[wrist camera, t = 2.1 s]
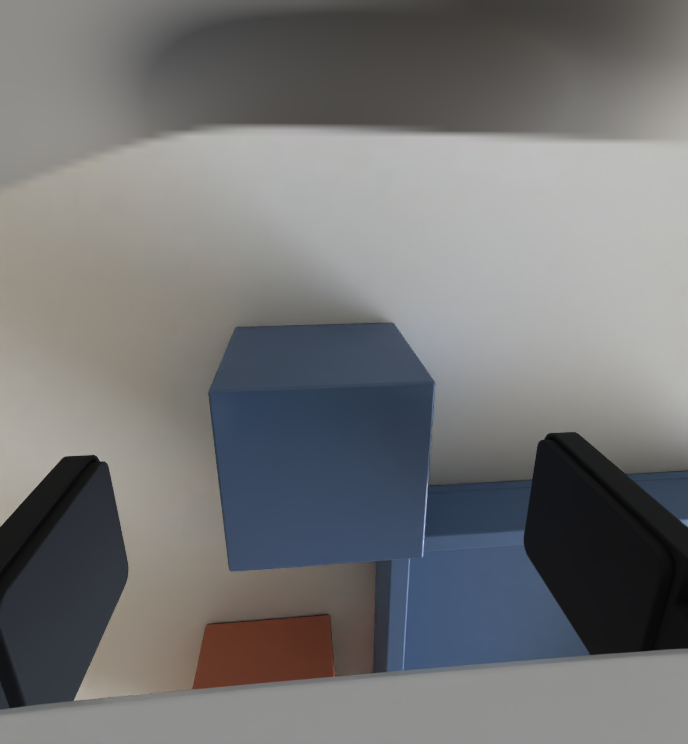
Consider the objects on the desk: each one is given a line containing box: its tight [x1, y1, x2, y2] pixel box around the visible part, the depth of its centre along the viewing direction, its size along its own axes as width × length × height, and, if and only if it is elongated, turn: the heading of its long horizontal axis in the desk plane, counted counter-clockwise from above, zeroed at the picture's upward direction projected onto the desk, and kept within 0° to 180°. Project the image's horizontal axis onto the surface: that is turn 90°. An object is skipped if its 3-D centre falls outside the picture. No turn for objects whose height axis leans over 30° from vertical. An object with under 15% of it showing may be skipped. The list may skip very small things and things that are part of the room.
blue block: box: [208, 323, 435, 571], centre depth 12 cm, size 4×4×4 cm
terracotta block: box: [192, 615, 335, 690], centre depth 16 cm, size 4×4×4 cm
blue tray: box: [373, 471, 688, 673], centre depth 18 cm, size 13×12×2 cm
